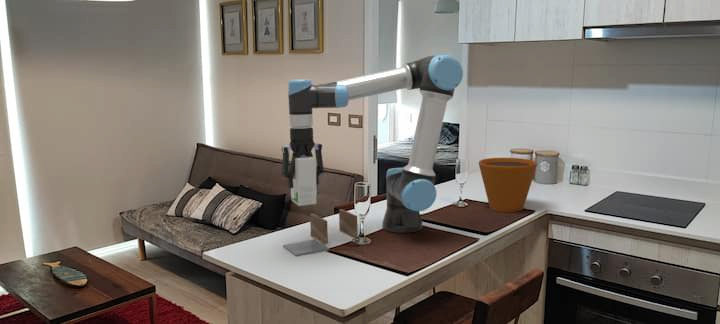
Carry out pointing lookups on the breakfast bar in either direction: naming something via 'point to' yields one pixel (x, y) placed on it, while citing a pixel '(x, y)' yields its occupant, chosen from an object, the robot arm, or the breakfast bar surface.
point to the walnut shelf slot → (345, 223)
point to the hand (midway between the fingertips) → (303, 195)
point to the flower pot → (507, 182)
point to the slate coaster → (306, 247)
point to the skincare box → (305, 180)
